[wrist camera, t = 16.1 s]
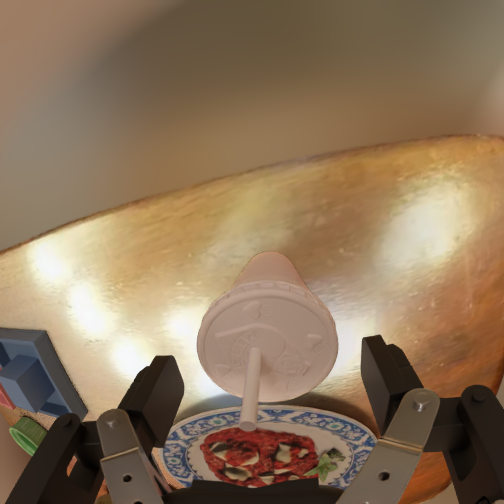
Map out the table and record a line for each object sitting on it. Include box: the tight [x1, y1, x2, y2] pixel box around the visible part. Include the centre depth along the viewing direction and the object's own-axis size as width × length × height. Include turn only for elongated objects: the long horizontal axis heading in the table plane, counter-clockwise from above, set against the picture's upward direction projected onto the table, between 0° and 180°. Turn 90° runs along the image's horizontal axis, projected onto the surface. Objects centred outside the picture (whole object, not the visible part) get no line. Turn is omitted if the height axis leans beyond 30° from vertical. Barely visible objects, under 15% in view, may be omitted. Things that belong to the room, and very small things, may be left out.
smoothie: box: [197, 251, 338, 431], centre depth 15 cm, size 6×6×14 cm
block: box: [0, 355, 55, 413], centre depth 25 cm, size 5×5×5 cm
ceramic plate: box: [159, 405, 378, 490], centre depth 27 cm, size 26×26×3 cm
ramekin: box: [9, 417, 47, 456], centre depth 31 cm, size 9×9×4 cm
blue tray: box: [0, 328, 88, 420], centre depth 26 cm, size 12×12×2 cm
